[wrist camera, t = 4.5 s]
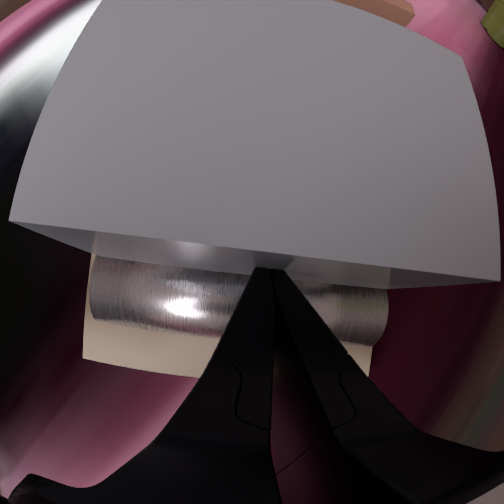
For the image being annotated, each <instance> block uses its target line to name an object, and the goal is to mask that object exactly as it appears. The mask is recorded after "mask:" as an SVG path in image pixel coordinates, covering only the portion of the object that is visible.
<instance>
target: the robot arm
mask: <svg viewBox="0 0 504 504" xmlns="http://www.w3.org/2000/svg"><path fill="white" fill-rule="evenodd" d="M270 431H271V433H270ZM271 436H272V445H273V455H274V464H275V470H274V465H273V461H272V456H271V441H270V439H271ZM275 473H276V474H275ZM0 504H504V451H500V452H489V451H484V450H480V449H476V448H473V447H469V446H465V445H462V444H459V443H455V442H452V441H449V440H445V439H442V438H439V437H436V436H433V435H430V434H427V433H425V432H423V431H421V430H420V429H418V428H417V427H415V426H414V425H413V424H412V423H411V422H409V421H408V420H407V419H406V418H405V416H404V415H403V414H402V413H401V412H400V411H399V410H398V409H397V408H396V407H395V406H394V405H393V404H392V403H391V402H390V401H389V400H388V398H387V397H386V396H385V395H384V394H383V393H382V392H381V391H380V390H379V389H378V388H377V387H376V386H375V384H374V383H373V382H372V381H371V380H370V379H369V378H368V377H367V375H366V374H365V373H364V372H363V370H362V369H361V368H360V367H359V365H358V364H357V363H356V362H355V360H354V359H353V358H352V356H351V355H350V354H348V351H347V350H346V349H345V347H344V346H343V345H342V344H341V342H340V341H339V340H338V338H337V337H336V336H335V335H334V333H333V332H332V331H331V329H330V328H329V327H328V326H327V324H326V323H325V322H324V320H323V319H322V318H321V316H320V315H319V314H318V313H317V311H316V310H315V309H314V308H313V306H312V305H311V304H310V302H309V301H308V300H307V299H306V297H305V296H304V295H303V293H302V292H301V291H300V290H299V288H298V287H297V286H296V284H295V283H294V282H293V281H292V279H291V278H290V277H289V276H288V274H287V273H286V272H285V271H284V270H280V269H268V268H263V267H255V268H254V269H253V271H252V273H251V276H250V278H249V280H248V282H247V284H246V286H245V288H244V290H243V292H242V294H241V297H240V299H239V301H238V303H237V305H236V307H235V309H234V311H233V313H232V315H231V318H230V320H229V322H228V324H227V326H226V328H225V330H224V332H223V334H222V336H221V338H220V340H219V342H218V345H217V347H216V348H215V350H214V352H213V355H212V357H211V359H210V361H209V362H208V364H207V366H206V368H205V370H204V372H203V373H202V375H201V377H200V378H199V380H198V381H197V383H196V384H195V386H194V387H193V389H192V390H191V392H190V393H189V394H188V396H187V397H186V399H185V400H184V401H183V403H182V404H181V406H180V407H179V408H178V410H177V411H176V413H175V414H174V415H173V417H172V418H171V419H170V421H169V422H168V423H167V425H166V426H165V427H164V429H163V430H162V431H161V432H160V433H159V435H158V436H157V437H156V438H155V439H154V440H153V441H152V442H151V443H150V444H149V445H148V446H147V447H145V448H144V449H143V450H142V451H141V452H139V453H138V454H137V455H136V456H134V457H133V458H132V459H131V460H129V461H128V462H127V463H126V464H124V465H123V466H122V467H120V468H119V469H118V470H117V471H115V472H114V473H113V474H111V475H110V476H109V477H108V478H106V479H105V480H104V481H102V482H100V483H99V484H97V485H95V486H91V487H87V488H75V487H70V486H67V485H64V484H61V483H58V482H55V481H53V480H50V479H47V478H44V477H42V476H39V475H35V474H28V475H27V476H26V477H25V478H24V479H23V480H22V481H21V482H20V483H19V484H18V485H17V486H16V487H15V489H14V490H13V491H12V493H11V494H10V496H9V498H8V499H7V498H5V497H3V496H1V495H0Z"/></svg>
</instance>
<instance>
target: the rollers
mask: <svg viewBox="0 0 504 504" xmlns="http://www.w3.org/2000/svg"><path fill="white" fill-rule="evenodd" d="M250 276H251V275H243V274H234V273H226V272H217V271H209V270H201V269H192V268H184V267H176V266H168V265H161V264H153V263H145V262H138V261H130V260H123V259H116V258H108V257H101V256H98V255H96V257H95V260H94V263H93V266H92V270H91V275H90V282H89V305H90V310H91V314H92V316H93V318H94V319H95V320H96V321H97V322H102V323H108V324H113V325H119V326H125V327H131V328H137V329H144V330H150V331H157V332H164V333H172V334H179V335H187V336H195V337H204V338H213V339H220V338H221V336H222V334H223V332H224V330H225V328H226V326H227V324H228V322H229V320H230V318H231V315H232V313H233V311H234V309H235V307H236V305H237V303H238V301H239V299H240V297H241V294H242V292H243V290H244V288H245V286H246V284H247V282H248V280H249V278H250ZM292 281H293V282H294V283H295V284H296V286H297V287H298V288H299V290H300V291H301V292H302V293H303V295H304V296H305V297H306V299H307V300H308V301H309V302H310V304H311V305H312V306H313V308H314V309H315V310H316V311H317V313H318V314H319V315H320V316H321V318H322V319H323V320H324V322H325V323H326V324H327V326H328V327H329V328H330V329H331V331H332V332H333V333H334V335H335V336H336V337H337V338H338V340H339V341H340V342H341V344H342V345H343V346H344V347H370V346H373V345H374V344H376V343H377V342H378V340H379V339H380V338H381V336H382V334H383V332H384V329H385V326H386V323H387V318H388V296H387V292H386V289H381V288H370V287H359V286H349V285H338V284H328V283H318V282H308V281H298V280H292Z"/></svg>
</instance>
